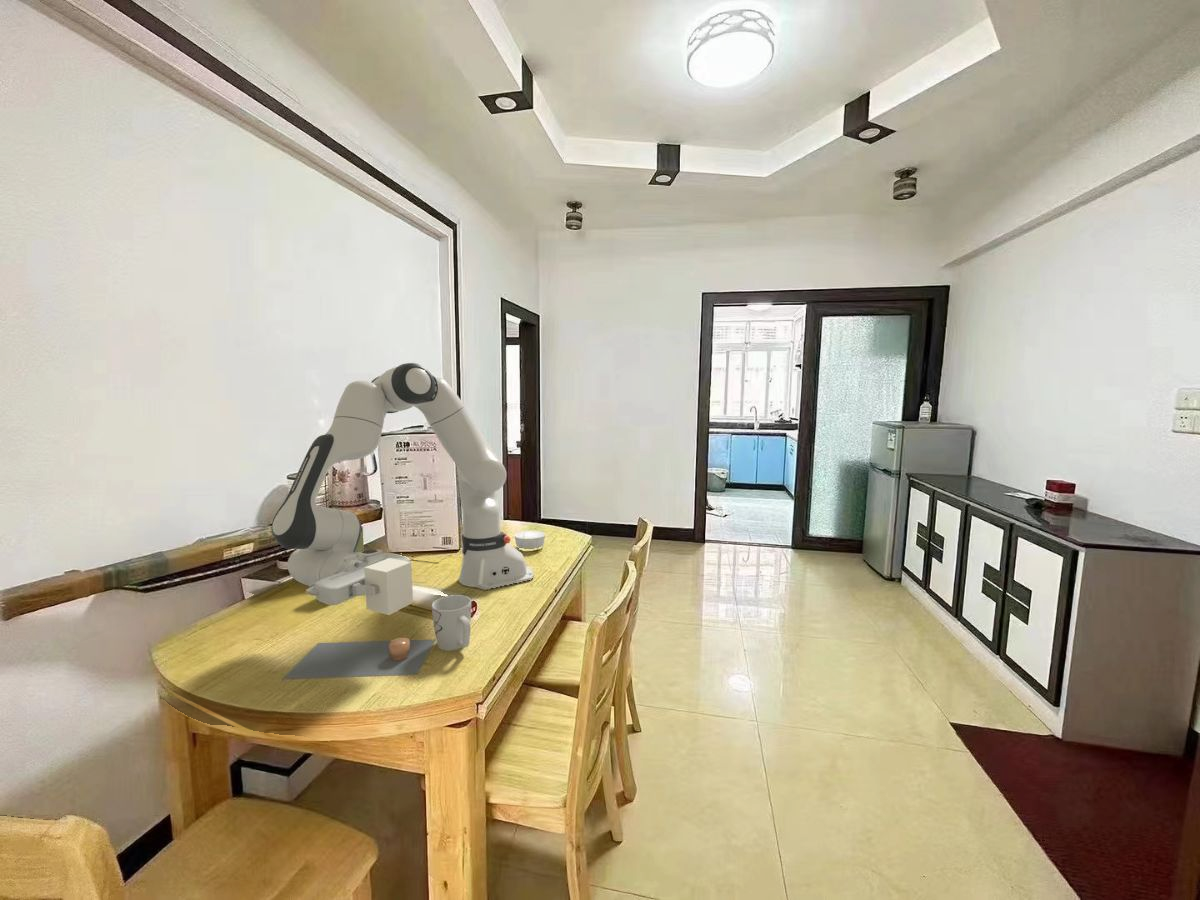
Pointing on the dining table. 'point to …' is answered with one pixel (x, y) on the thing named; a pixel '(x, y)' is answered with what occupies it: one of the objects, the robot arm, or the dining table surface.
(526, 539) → the ramekin
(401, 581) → the white upright block
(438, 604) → the mug
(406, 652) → the orange-brown rounded lump
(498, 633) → the dining table surface
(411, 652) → the slate mat
